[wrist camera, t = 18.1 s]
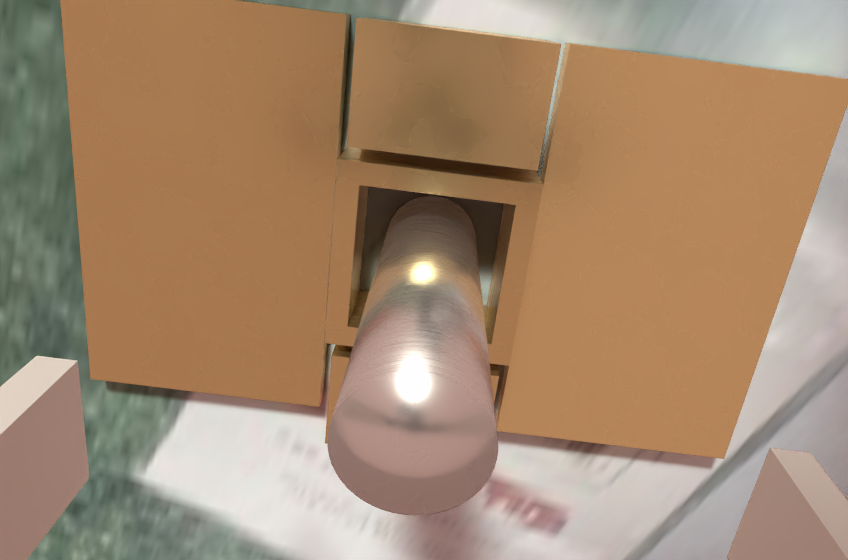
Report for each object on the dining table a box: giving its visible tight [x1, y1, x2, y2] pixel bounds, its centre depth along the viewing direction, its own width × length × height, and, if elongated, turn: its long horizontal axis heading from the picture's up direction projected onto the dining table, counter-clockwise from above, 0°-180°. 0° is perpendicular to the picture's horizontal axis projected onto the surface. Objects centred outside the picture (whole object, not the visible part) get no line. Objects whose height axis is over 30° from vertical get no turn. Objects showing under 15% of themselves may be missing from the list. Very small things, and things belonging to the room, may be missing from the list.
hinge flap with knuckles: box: [347, 18, 848, 459], centre depth 25 cm, size 16×17×4 cm
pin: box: [328, 196, 498, 515], centre depth 21 cm, size 4×4×14 cm
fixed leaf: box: [60, 0, 543, 443], centre depth 25 cm, size 16×17×4 cm
